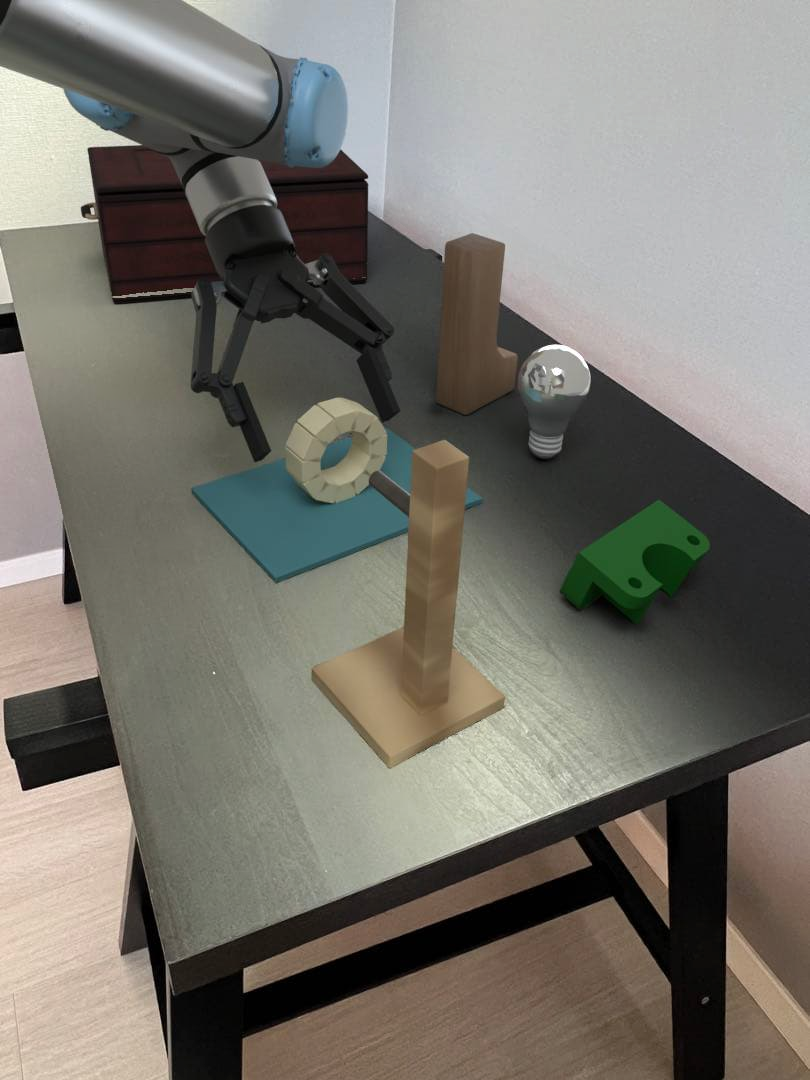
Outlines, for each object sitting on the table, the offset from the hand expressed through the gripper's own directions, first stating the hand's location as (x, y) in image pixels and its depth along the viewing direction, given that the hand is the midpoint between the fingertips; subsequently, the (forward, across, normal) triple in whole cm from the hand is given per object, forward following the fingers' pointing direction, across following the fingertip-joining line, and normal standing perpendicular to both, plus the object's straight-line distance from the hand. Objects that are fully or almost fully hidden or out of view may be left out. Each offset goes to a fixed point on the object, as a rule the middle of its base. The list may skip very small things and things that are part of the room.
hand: (329, 436), depth 86 cm
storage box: (-35, -18, -44) cm, 60 cm away
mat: (+5, 0, -4) cm, 6 cm away
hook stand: (+22, +9, +14) cm, 28 cm away
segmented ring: (+5, 0, -3) cm, 6 cm away
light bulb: (+9, -22, 0) cm, 23 cm away
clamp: (+23, -13, +14) cm, 30 cm away
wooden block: (-1, -24, -10) cm, 26 cm away
